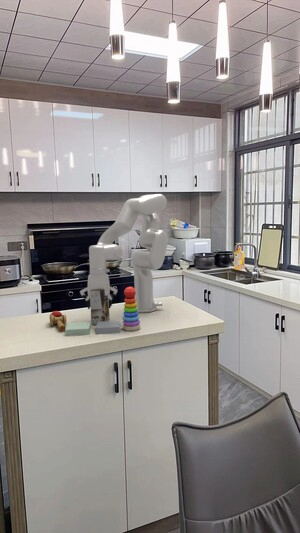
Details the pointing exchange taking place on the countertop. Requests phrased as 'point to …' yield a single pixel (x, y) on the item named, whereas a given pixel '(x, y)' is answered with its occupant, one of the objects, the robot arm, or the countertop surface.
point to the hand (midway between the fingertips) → (99, 308)
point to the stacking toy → (130, 311)
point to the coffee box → (99, 306)
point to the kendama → (58, 320)
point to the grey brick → (108, 327)
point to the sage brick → (78, 329)
